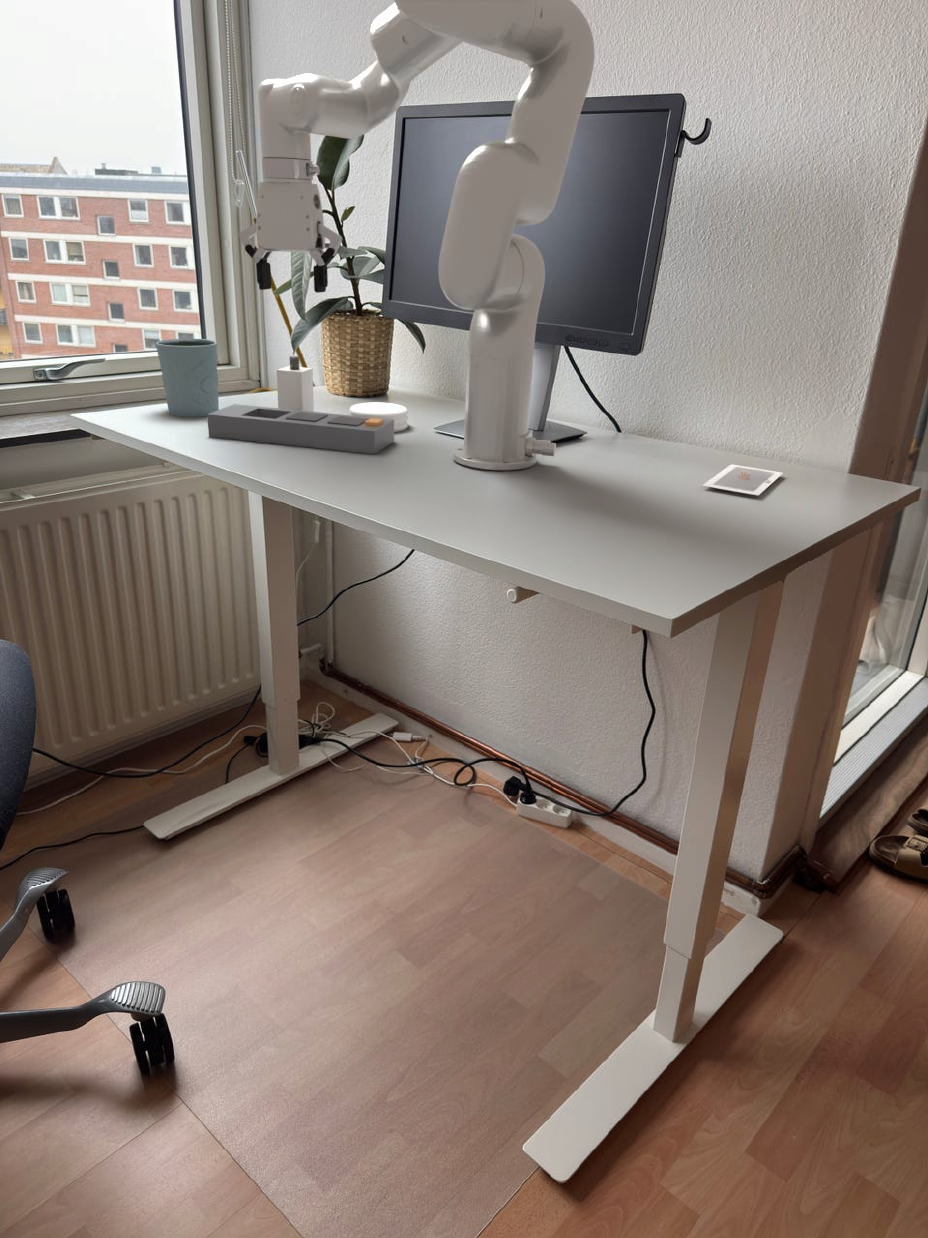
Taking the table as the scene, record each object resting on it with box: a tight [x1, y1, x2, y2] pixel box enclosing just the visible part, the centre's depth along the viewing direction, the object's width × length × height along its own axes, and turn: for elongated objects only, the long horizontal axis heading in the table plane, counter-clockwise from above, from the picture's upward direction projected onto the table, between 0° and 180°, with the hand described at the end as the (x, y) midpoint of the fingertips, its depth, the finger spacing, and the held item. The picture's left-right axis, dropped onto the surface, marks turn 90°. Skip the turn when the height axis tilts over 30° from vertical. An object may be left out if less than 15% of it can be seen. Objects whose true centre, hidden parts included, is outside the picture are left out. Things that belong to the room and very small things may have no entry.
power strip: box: [206, 403, 395, 455], centre depth 141 cm, size 28×9×4 cm, turn 75°
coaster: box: [349, 401, 409, 433], centre depth 152 cm, size 10×10×4 cm
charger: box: [276, 355, 315, 412], centre depth 150 cm, size 4×4×11 cm
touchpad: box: [701, 464, 784, 496], centre depth 128 cm, size 8×15×2 cm, turn 149°
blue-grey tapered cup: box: [155, 338, 220, 418], centre depth 155 cm, size 10×10×12 cm
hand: (292, 290), depth 144 cm, fingers open, 9 cm apart
